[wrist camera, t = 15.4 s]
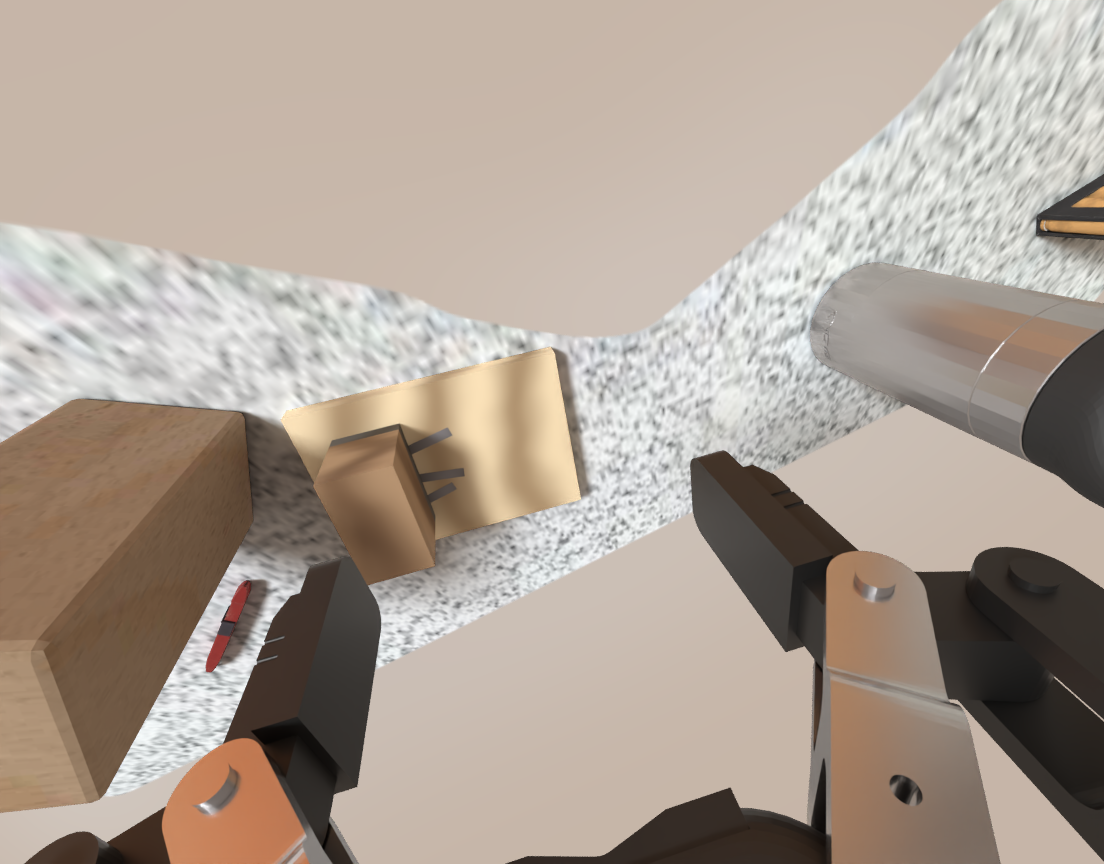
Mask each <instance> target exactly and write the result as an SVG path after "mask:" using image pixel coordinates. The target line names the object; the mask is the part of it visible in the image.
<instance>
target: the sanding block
mask: <svg viewBox="0 0 1104 864" xmlns="http://www.w3.org/2000/svg"><path fill="white" fill-rule="evenodd" d="M313 487H314V489H315V491H316V493H317V495H318V497H319V498H320V500H321V502H322V504H323V506H324V508H325V510H326V511H327V513H328V515H329V517H330V519H331V521H332V523H333V524H334V526H335V528H336V530H337V532H338V534H339V536H340V537H341V539H342V541H343V543H344V545H345V547H346V549H347V550H348V552H349V554H350V556H351V558H352V560H353V561H354V563H355V564H356V566H357V568H358V570H359V571H360V573H361V575H362V577H363V578H364V580H365V582H366V584H367V585H370V584H374V583H377V582H381V581H384V580H388V579H391V578H395V577H398V576H402V575H405V574H409V573H412V572H416V571H419V570H423V569H426V568H430V567H433V566H435V513H434V510H433V508H432V505H431V503H430V500H429V497H428V495H427V492H426V490H425V487H424V485H423V482H422V480H421V477H420V474H419V472H418V469H417V467H416V464H415V462H414V459H413V456H412V454H411V451H410V449H409V446H408V444H407V441H406V439H405V436H404V433H403V431H402V428H401V426H400V423H399V424H395V425H391V426H387V427H383V428H379V429H375V430H371V431H367V432H363V433H359V434H355V435H351V436H347V437H344V438H340V439H336V440H332V441H331V444H330V446H329V449H328V451H327V453H326V456H325V458H324V461H323V463H322V466H321V468H320V470H319V473H318V475H317V478H316V480H315V483H314V485H313Z"/></svg>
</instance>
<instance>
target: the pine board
mask: <svg viewBox="0 0 1104 864" xmlns="http://www.w3.org/2000/svg"><path fill="white" fill-rule="evenodd" d="M281 422H282V423H283V425H284V427H285V429H286V431H287V433H288V435H289V437H290V438H291V440H292V442H293V444H294V446H295V448H296V450H297V452H298V453H299V455H300V457H301V459H302V461H303V463H304V465H305V467H306V469H307V470H308V472H309V474H310V476H311V478H312V480H313V482H314V483H315V480H316V478H317V475H318V473H319V470H320V468H321V466H322V463H323V461H324V458H325V456H326V453H327V451H328V449H329V446H330V444H331V441H332V440H336V439H340V438H344V437H347V436H351V435H355V434H359V433H363V432H367V431H371V430H375V429H379V428H383V427H387V426H391V425H395V424H399V423H400V426H401V428H402V431H403V433H404V436H405V439H406V441H407V444H408V446H409V449H410V451H411V454H412V456H413V459H414V462H415V464H416V467H417V469H418V472H419V474H420V477H421V480H422V482H423V485H424V487H425V490H426V492H427V495H428V497H429V500H430V503H431V505H432V508H433V510H434V513H435V540H437V539H440V538H444V537H448V536H451V535H455V534H458V533H462V532H466V531H469V530H473V529H476V528H480V527H484V526H487V525H491V524H494V523H498V522H502V521H505V520H509V519H512V518H516V517H519V516H523V515H527V514H530V513H534V512H537V511H541V510H545V509H548V508H552V507H555V506H559V505H563V504H566V503H570V502H573V501H577V500H581V496H580V491H579V485H578V480H577V474H576V469H575V463H574V458H573V452H572V447H571V441H570V436H569V430H568V424H567V419H566V413H565V408H564V402H563V397H562V391H561V386H560V380H559V375H558V369H557V364H556V358H555V353H554V351H553V350H552V348H551V347H547V348H543V349H539V350H535V351H531V352H527V353H523V354H519V355H514V356H510V357H506V358H502V359H498V360H494V361H490V362H486V363H482V364H477V365H473V366H469V367H465V368H461V369H457V370H453V371H449V372H445V373H440V374H436V375H432V376H428V377H424V378H420V379H416V380H412V381H408V382H403V383H399V384H395V385H391V386H387V387H383V388H379V389H375V390H370V391H366V392H362V393H358V394H354V395H350V396H346V397H342V398H338V399H333V400H329V401H325V402H321V403H317V404H313V405H309V406H305V407H301V408H296V409H292V410H288V411H286V413H285V414H284V416H283V417H282V419H281Z"/></svg>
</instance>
